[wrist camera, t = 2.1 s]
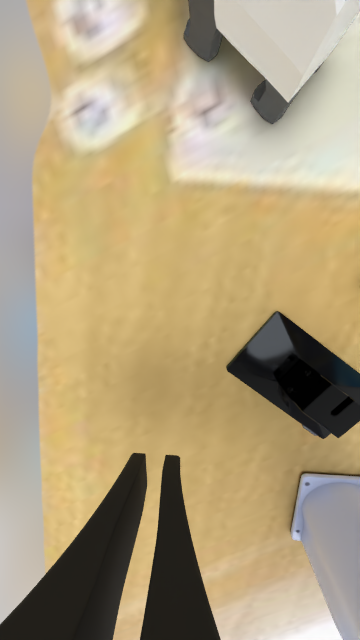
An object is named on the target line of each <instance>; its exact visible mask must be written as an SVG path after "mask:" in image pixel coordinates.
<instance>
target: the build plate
mask: <svg viewBox="0 0 360 640" xmlns="http://www.w3.org/2000/svg"><path fill="white" fill-rule="evenodd" d="M226 369H227V371H228V372H230V373H231V374H233V375H234V376H235V377H237V378H238V379H240V380H241V381H242V382H244V383H245V384H247V385H248V386H249V387H251V388H252V389H254V390H255V391H256V392H258V393H259V394H261V395H262V396H263V397H265V398H266V399H268V400H269V401H270V402H272V403H273V404H275V405H276V406H277V407H279V408H280V409H282V410H283V411H284V412H286V413H287V414H288V415H290V416H291V417H293V418H294V419H295V420H297V421H298V422H300V423H301V424H302V426H303V427H304V428H305V429H306V430H308V431H309V432H311V433H312V434H313V435H316V436H319V437H321V438H322V439H324V438H326V437H327V436H328V435H329V434H331V433H332V434H333V435H335V436H336V437H337V438H339V437H341V436H342V435H343V434H344V433H346V432H347V431H348V430H349V429H350V428H352V427H353V426H354V425H355V424H357V423H358V422H359V421H360V374H359V373H358V372H357V371H355V370H354V369H353V368H351V367H350V366H349V365H348V364H346V363H345V362H344V361H342V360H341V359H340V358H339V357H337V356H336V355H335V354H333V353H332V352H331V351H330V350H328V349H327V348H326V347H324V346H323V345H322V344H320V343H319V342H318V341H317V340H315V339H314V338H313V337H311V336H310V335H309V334H308V333H306V332H305V331H304V330H302V329H301V328H300V327H298V326H297V325H296V324H295V323H293V322H292V321H291V320H289V319H288V318H287V317H286V316H284V315H283V314H282V313H280V312H278V311H277V312H275V313H274V314H273V315H272V316H271V317H270V318H269V320H268V321H267V322H266V323H265V324H264V325H263V326H262V327H261V328H260V330H259V331H258V332H257V333H256V334H255V335H254V336H253V337H252V339H251V340H250V341H249V342H248V343H247V344H246V345H245V346H244V347H243V349H242V350H241V351H240V352H239V353H238V354H237V355H236V356H235V358H234V359H233V360H232V361H231V362H230V363H229V364H228V365H227V367H226Z"/></svg>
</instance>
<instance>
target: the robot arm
mask: <svg viewBox="0 0 360 640" xmlns="http://www.w3.org/2000/svg"><path fill="white" fill-rule="evenodd" d="M146 489H147V473H146V455H145V454H142V453H133V454H132V455H131V457H130V458H129V460H128V462H127V464H126V465H125V467H124V469H123V470H122V472H121V474H120V475H119V477H118V478H117V480H116V482H115V483H114V485H113V486H112V488H111V489H110V491H109V492H108V494H107V495H106V497H105V498H104V500H103V501H102V503H101V504H100V505H99V507H98V508H97V510H96V511H95V512H94V514H93V515H92V516H91V518H90V519H89V521H88V522H87V523H86V525H85V526H84V527H83V529H82V530H81V531H80V533H79V534H78V535H77V537H76V538H75V539H74V540H73V542H72V543H71V544H70V546H69V547H68V548H67V549H66V550H65V552H64V553H63V554H62V555H61V557H60V558H59V559H58V560H57V561H56V563H55V564H54V565H53V566H52V567H51V569H50V570H49V571H48V572H47V573H46V574H45V576H44V577H43V578H42V579H41V580H40V581H39V583H38V584H37V585H36V586H35V587H34V588H33V589H32V591H31V592H30V593H29V594H28V595H27V596H26V597H25V598H24V600H23V601H22V602H21V603H20V604H19V605H18V606H17V607H16V608H15V609H14V610H13V611H12V612H11V614H10V615H9V616H8V617H7V618H6V619H5V620H4V621H3V622H2V623H1V624H0V640H113V635H114V630H115V625H116V620H117V615H118V610H119V605H120V600H121V596H122V591H123V587H124V583H125V579H126V575H127V571H128V567H129V563H130V560H131V556H132V552H133V548H134V544H135V540H136V536H137V532H138V528H139V524H140V520H141V516H142V512H143V507H144V501H145V495H146ZM291 537H292V539H294V540H299V541H302V544H303V546H304V549H305V551H306V554H307V556H308V559H309V561H310V564H311V566H312V568H313V571H314V573H315V576H316V578H317V581H318V583H319V586H320V588H321V591H322V593H323V596H324V598H325V601H326V603H327V606H328V608H329V610H330V613H331V615H332V618H333V620H334V623H335V625H336V627H337V629H338V631H339V633H340V635H341V637H342V639H343V640H360V477H358V476H341V475H325V474H309V473H305V474H303V475H302V476H301V480H300V485H299V491H298V496H297V501H296V507H295V512H294V517H293V523H292V528H291ZM140 640H220V636H219V633H218V630H217V627H216V624H215V620H214V617H213V614H212V611H211V608H210V605H209V601H208V598H207V594H206V591H205V587H204V584H203V581H202V577H201V573H200V570H199V566H198V562H197V558H196V555H195V551H194V547H193V542H192V538H191V534H190V529H189V525H188V520H187V515H186V510H185V505H184V499H183V493H182V486H181V478H180V457H179V456H176V455H166V456H165V461H164V466H163V471H162V482H161V495H160V507H159V520H158V531H157V539H156V546H155V553H154V559H153V565H152V572H151V578H150V584H149V590H148V596H147V602H146V608H145V614H144V620H143V626H142V631H141V637H140Z"/></svg>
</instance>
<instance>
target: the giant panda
mask: <svg viewBox="0 0 360 640" xmlns="http://www.w3.org/2000/svg"><path fill="white" fill-rule="evenodd" d="M188 1H189V11H190V19H189V20H188V22H187V25H186V29H185V32H184V40H185V41H186V43H187V44H188V46H189V47H190V48H191V49H192V50H193V51H194V52H195V53H196V54H197V55H198V56H200V57H201V58H203V59H205V60H206V61H208V62H209V61H210V60H211V59H212V58H213V57H215V56H216V55H217V53H218V50H219V47H220V44H221V40H222V35H224V36H225V37H226V39H227V40H228V41H229V42H230V43H231V44H232V45H233V46H234V47H235V48H236V49H237V50H238V51H239V52H240V53H241V54H242V55H243V56H244V57H245V58H246V59H247V60H248V61H249V62H250V63H251V64H252V65H253V66H254V67H255V68H256V69H257V70H258V71H259V72H260V73H261V74H262V75H263V76H264V77H265V81H264V82H262V83H261V84H260V85H259V86H258V87H257V88H256V89H255V91H254V94H253V96H252V99H251V103H252V104H253V106H254V108H255V109H256V110H257V111H258V113H259V114H260V115H261V116H262V117H263V118H264V119H266V120H267V121H269V122H270V123H272V124H273V123H275V122H276V121H277V120H279V119H280V118H281V117H282V116H283V114H284V113H285V111H286V110H287V108H288V107H289V106H290V104H291V103H292V101H293V100H294V98H295V97H296V95H297V94H298V92H299V91H300V89H301V88H302V86H303V85H304V83H305V82H306V81H307V80H308V79H309V78H310V76H311V75H312V74H314V73H315V72H316V71H317V70H318V69H319V67H320V66H321V65H322V63H323V62H324V60H325V59H326V58H327V57H328V56H329V54H330V53H331V52H332V51H333V49H334V48H335V46H336V45H337V44H338V42H339V41H340V39H341V38H342V36H343V35H344V33H345V32H346V30H347V29H348V28H349V26H350V25H351V23H352V22H353V20H354V19H355V17H356V16H357V14H358V13H359V12H360V0H188Z"/></svg>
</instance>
